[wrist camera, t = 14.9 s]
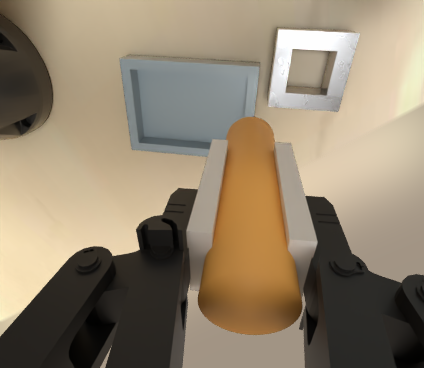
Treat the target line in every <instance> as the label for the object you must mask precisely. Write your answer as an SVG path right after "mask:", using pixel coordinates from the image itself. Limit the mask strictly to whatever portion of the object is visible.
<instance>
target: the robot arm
mask: <svg viewBox="0 0 424 368" xmlns="http://www.w3.org/2000/svg"><path fill="white" fill-rule="evenodd" d="M51 106H52V87H51V82H50V78H49V75H48V72H47V69H46V67H45V65H44V63H43V61H42V59H41V57H40V55H39V53H38V52H37V50H36V49H35V47H34V46H33V44H32V43H31V42H30V41H29V39H28V38H27V37H26V36H25V35H24V34H23V33H22V31H21V30H20V29H19V28H17V27H16V26H15V25H14V24H13V23H12V22H11V21H9V20H8V19H7V18H5V17H4V16H2V15H1V14H0V140H6V139H14V138H18V137H21V136H24V135H26V134H28V133H30V132H31V131H33V130H35V129H37V128H38V127H40V126H41V125H42V124H43V123H44V122H45V121H46V119H47V117H48V116H49V113H50V110H51ZM227 152H228V140H219V139H212V143H211V146H210V150H209V153H208V157H207V160H206V164H205V167H204V171H203V174H202V178H201V181H200V185H199V188H198V190H197V189H183V188H178V189H177V190H176V191H175V192H174V193H173V194H172V195H171V196H170V198H169V201H168V203H167V206H166V208H165V211H164V213H163V215H160V216H153V217H151V218H148V219H146V220H144V221H143V222H142V223H140V224H139V226H138V228H137V229H136V232H137V237H138V242H139V247H140V250H138V251H136V252H133V253H129V254H123V255H117V256H112V254H111V252H110V251H109V250H108V249H106V248H103V247H95V246H93V247H89V248H85V249H82V250H80V251H78V252H76V253H75V254H74V255H73V256H72V257H70V258H69V259H68V260H67V261H66V263H65V264H64V265H63V266H62V267H61V268H60V269H59V271H58V272H57V273H56V274H55V275H54V276H53V277H52V279H51V280H50V281H49V282H48V283H47V284H46V285H45V286H44V288H43V289H42V290H41V291H40V292H39V293H38V294H37V296H36V297H35V298H34V299H33V300H32V301H31V302H30V304H29V305H28V306H27V307H26V308H25V309H24V310H23V311H22V313H21V314H20V315H19V316H18V317H17V318H16V319H15V321H14V322H13V323H12V324H11V325H10V326H9V327H8V329H7V330H6V331H5V332H4V333H3V334H2V335H1V336H0V368H100V366H101V365H102V363H103V361H104V359H105V357H106V355H107V353H108V351H109V349H110V348H111V350H110V354H109V357H108V360H107V364H106V367H105V368H182V365H183V364H182V363H183V353H184V342H185V330H186V318H187V306H188V300H187V292H188V288H189V284H190V290H195V291H199V289H200V283H201V277H202V272H203V266H204V261H205V257H206V255H207V253H208V251H209V250H210V249H211V248H212V244H213V238H214V232H215V226H216V219H217V213H218V207H219V201H220V195H221V189H222V182H223V176H224V170H225V164H226V158H227ZM274 158H275V165H276V172H277V179H278V186H279V193H280V200H281V206H282V213H283V220H284V227H285V234H286V241H287V248H288V251H289V252H290V253H291V255H292V256H293V258H294V260H295V264H296V270H297V276H298V282H299V287H300V293H301V299H302V296H303V292H304V296H305V302H306V306H305V309H304V312H303V316H302V319H301V322H300V327H299V329H300V330H303V327H304V352H305V368H424V275H417V274H415V275H410V276H407V277H406V278H405V279H404V280H403V281H402V283H400V282H397V281H394V280H391V279H388V278H385V277H382V276H379V275H377V274H374V273H372V272H370V271H369V270H368V268H367V266H366V265H365V263H364V262H363V261H362V260H361V259H360V258H359V257H357V256H355V255H353V254H352V253H351V250H350V248H349V245H348V242H347V240H346V237H345V235H344V232H343V230H342V227H341V225H340V222H339V220H338V217H337V214H336V212H335V210H334V207H333V205H332V204H331V203H330V202H329V201H328V200H327V199H326V198H324V197H313V196H305V193H304V190H303V186H302V182H301V179H300V175H299V171H298V167H297V164H296V160H295V156H294V153H293V149H292V145H291V143H280V142H275V144H274ZM111 346H112V347H111Z"/></svg>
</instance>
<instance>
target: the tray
mask: <svg viewBox="0 0 424 368" xmlns="http://www.w3.org/2000/svg"><path fill="white" fill-rule="evenodd" d="M119 59H120V66H121V73H122V81H123V88H124V96H125V103H126V111H127V118H128V125H129V133H130V140H131V148H132V150H141V151H151V152H162V153H173V154H183V155H194V156H204V157H208V153H209V150H210V146H211V143H212V139H219V140H226V137H227V133H228V130H229V128H230V127H231V126H232V124H233V123H235V122H236V121H238V120H239V119H242V118H245V117H254V112H255V103H256V94H257V86H258V77H259V68H260V62H243V61H226V60H209V59H192V58H175V57H157V56H140V55H127V56H125V57H122V58H119Z"/></svg>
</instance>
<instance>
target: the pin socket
mask: <svg viewBox="0 0 424 368" xmlns="http://www.w3.org/2000/svg"><path fill="white" fill-rule="evenodd" d="M359 35H360V33H357V32H354V31H347V30H325V29H303V28H281V27H277V32H276V39H275V46H274V54H273V61H272V68H271V75H270V83H269V90H268V97H267V101H268V107H279V108H293V109H306V110H320V111H333V112H338V111H339V107H340V104H341V100H342V96H343V93H344V89H345V86H346V82H347V78H348V75H349V71H350V68H351V64H352V60H353V57H354V53H355V50H356V46H357V43H358V39H359ZM293 49H305V50H324V51H330V52H329V56H328V61H327V65H326V69H325V74H324V78H323V82H322V86H321V88H310V87H295V86H286V85H287V79H288V73H289V67H290V62H291V56H292V50H293Z"/></svg>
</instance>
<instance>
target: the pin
mask: <svg viewBox="0 0 424 368" xmlns="http://www.w3.org/2000/svg"><path fill="white" fill-rule="evenodd" d="M226 140H228V152H227V158H226V164H225V170H224V176H223V182H222V189H221V195H220V201H219V207H218V213H217V219H216V226H215V232H214V238H213V244H212V248H211V249H210V250H209V251H208V253H207V255H206V257H205V261H204V266H203V272H202V277H201V283H200V289H199V294H198V305H199V308H200V310H201V312H202V313H203V314H204V316H205V317H207V319H208V320H209V321H211V322H212V323H213V324H215V325H217V326H219V327H221V328H223V329H225V330H228V331H231V332H235V333H240V334H247V335H263V334H270V333H274V332H278V331H281V330H283V329H285V328H287V327H289V326H291V325H292V324H293V323H294V322H295V321H296V320H297V319H298V318H299V316H300V314H301V312H302V299H301V293H300V287H299V282H298V276H297V270H296V264H295V260H294V258H293V256H292V255H291V253H290V252H289V251H288V248H287V241H286V234H285V227H284V220H283V213H282V206H281V200H280V193H279V186H278V179H277V172H276V165H275V158H274V144H275V140H274V134H273V131H272V129H271V127H270V126H269V124H268V123H267V122H265V121H264V120H262V119H260V118H256V117H245V118H242V119H239V120H238V121H236V122H235V123H233V124H232V126H231V127H230V128H229V130H228V133H227V137H226Z"/></svg>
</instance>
